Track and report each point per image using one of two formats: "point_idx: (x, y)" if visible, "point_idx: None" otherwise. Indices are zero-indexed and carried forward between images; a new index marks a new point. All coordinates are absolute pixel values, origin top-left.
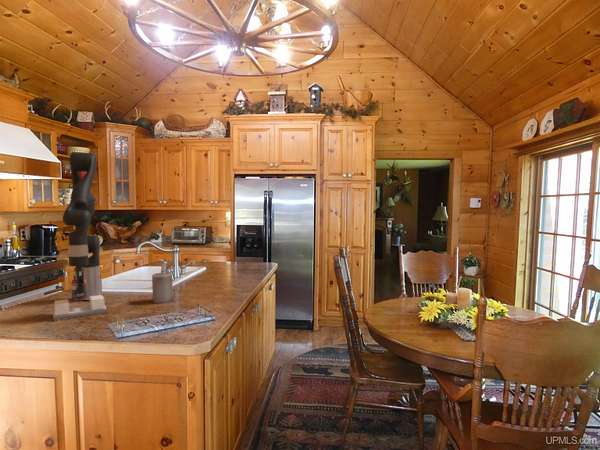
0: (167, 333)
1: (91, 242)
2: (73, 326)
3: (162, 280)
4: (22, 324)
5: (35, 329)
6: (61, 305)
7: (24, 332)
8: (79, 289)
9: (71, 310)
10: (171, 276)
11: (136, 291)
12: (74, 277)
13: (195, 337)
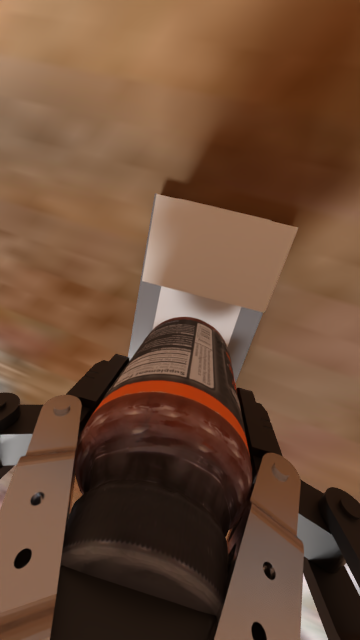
0: None
1: None
2: (30, 243)
3: None
4: (230, 32)
5: (81, 87)
6: (151, 236)
7: (63, 20)
8: (84, 381)
9: (208, 298)
10: None
11: (347, 567)
12: (108, 506)
13: None
